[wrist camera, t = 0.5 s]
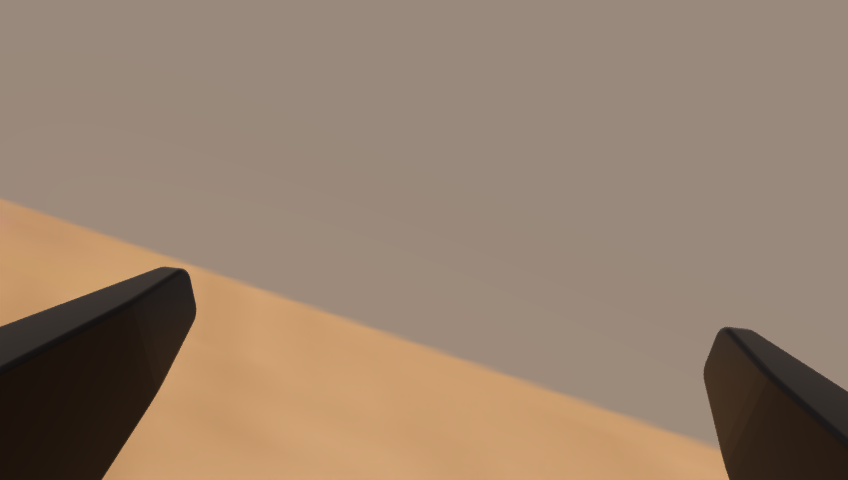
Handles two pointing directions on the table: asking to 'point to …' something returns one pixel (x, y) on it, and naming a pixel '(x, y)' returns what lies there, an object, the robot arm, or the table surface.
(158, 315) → the robot arm
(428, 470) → the table surface
